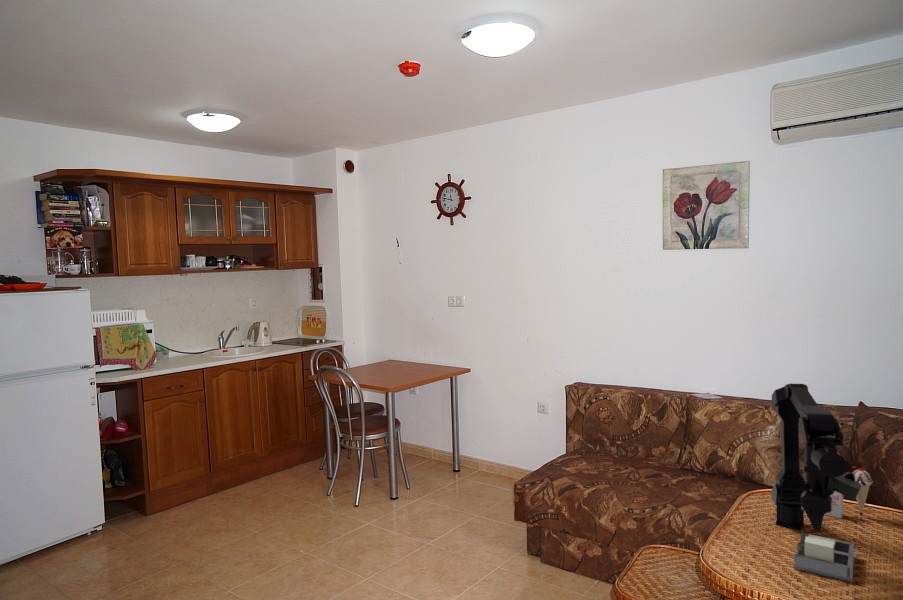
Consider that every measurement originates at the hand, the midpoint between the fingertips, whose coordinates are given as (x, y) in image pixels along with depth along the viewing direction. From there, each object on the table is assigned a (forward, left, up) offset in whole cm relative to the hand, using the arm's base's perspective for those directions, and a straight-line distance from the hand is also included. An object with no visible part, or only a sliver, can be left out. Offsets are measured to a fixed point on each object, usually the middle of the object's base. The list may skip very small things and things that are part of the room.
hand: (818, 524), depth 145 cm
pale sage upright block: (0, 0, -11) cm, 11 cm away
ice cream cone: (+8, +39, -12) cm, 42 cm away
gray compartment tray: (+1, +4, -12) cm, 13 cm away
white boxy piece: (0, +37, -12) cm, 39 cm away
